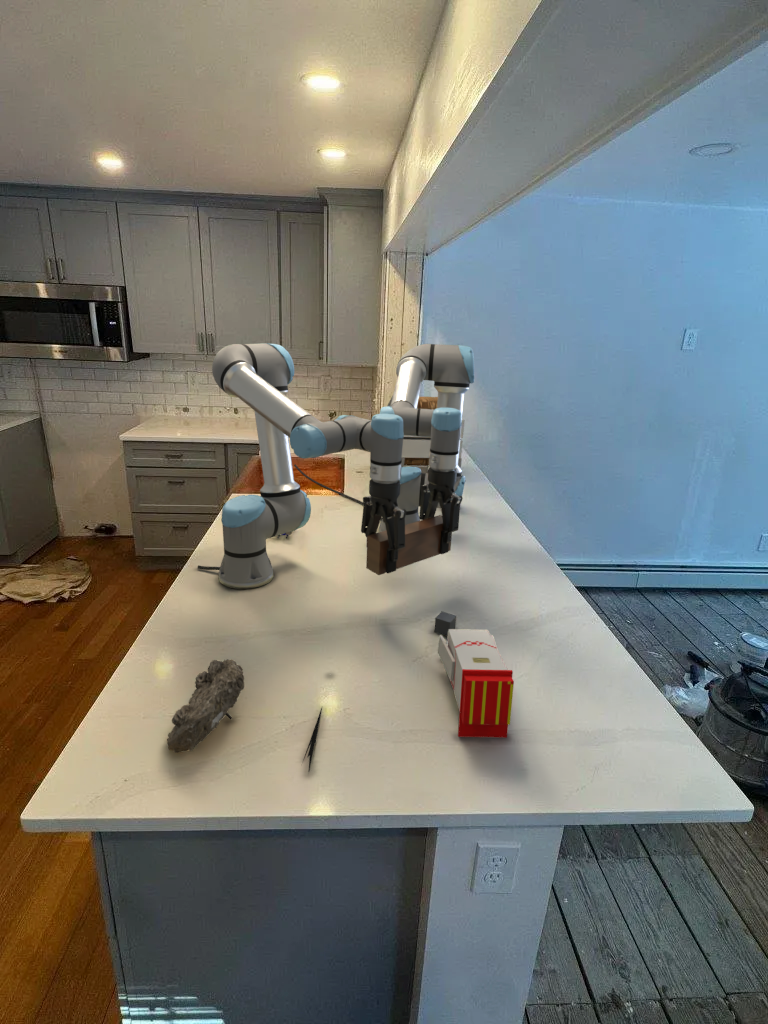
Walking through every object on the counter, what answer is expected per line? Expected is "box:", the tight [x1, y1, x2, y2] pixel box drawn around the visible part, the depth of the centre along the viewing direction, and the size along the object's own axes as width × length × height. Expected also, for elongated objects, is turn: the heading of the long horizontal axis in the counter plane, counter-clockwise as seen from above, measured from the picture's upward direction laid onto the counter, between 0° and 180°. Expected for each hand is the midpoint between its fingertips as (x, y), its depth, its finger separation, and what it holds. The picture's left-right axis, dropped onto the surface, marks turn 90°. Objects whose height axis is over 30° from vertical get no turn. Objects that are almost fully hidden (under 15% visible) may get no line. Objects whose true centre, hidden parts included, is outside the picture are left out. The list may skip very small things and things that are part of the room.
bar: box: [365, 514, 453, 576], centre depth 149 cm, size 26×5×9 cm, turn 131°
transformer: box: [386, 395, 465, 470], centre depth 268 cm, size 34×33×41 cm
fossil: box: [166, 658, 245, 754], centre depth 106 cm, size 22×10×15 cm
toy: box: [437, 628, 515, 738], centre depth 117 cm, size 12×13×30 cm
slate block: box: [433, 610, 458, 637], centre depth 140 cm, size 4×4×4 cm
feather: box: [301, 673, 332, 771], centre depth 108 cm, size 2×28×2 cm
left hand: (381, 566), depth 144 cm, fingers open, 7 cm apart
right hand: (436, 549), depth 157 cm, fingers closed on bar, 5 cm apart
